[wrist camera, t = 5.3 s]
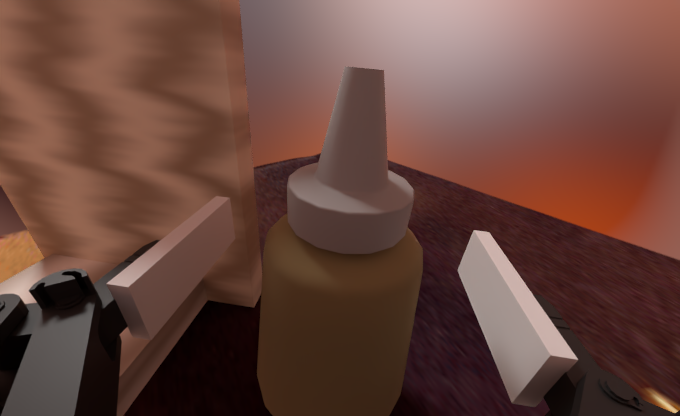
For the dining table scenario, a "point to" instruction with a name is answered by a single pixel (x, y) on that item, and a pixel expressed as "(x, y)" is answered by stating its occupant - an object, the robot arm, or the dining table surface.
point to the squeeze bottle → (341, 271)
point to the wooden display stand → (127, 145)
